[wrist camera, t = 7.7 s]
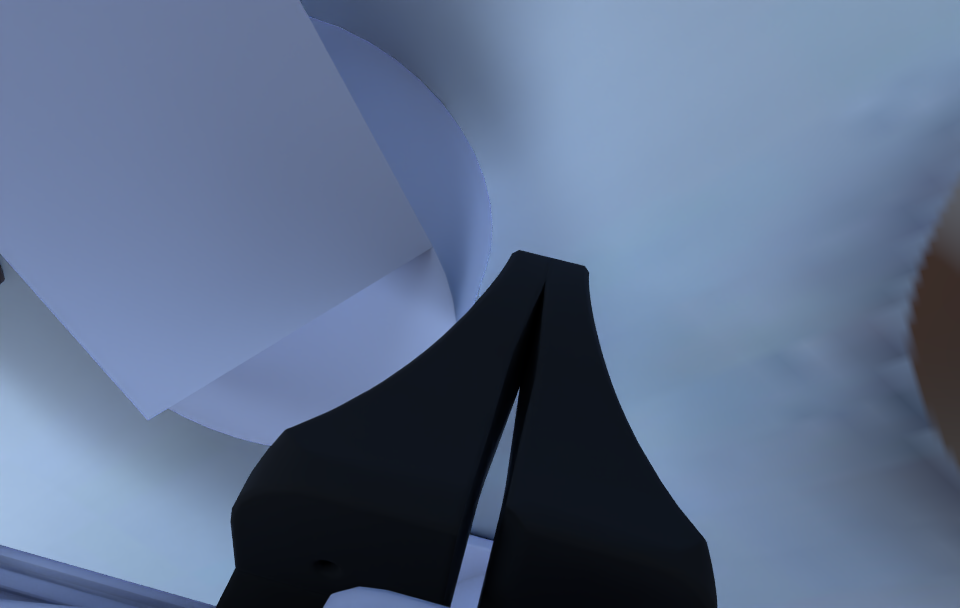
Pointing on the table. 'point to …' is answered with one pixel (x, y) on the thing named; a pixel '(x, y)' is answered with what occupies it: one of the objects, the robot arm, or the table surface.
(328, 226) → the wedge on round base
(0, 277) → the walnut stand
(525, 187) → the table surface
